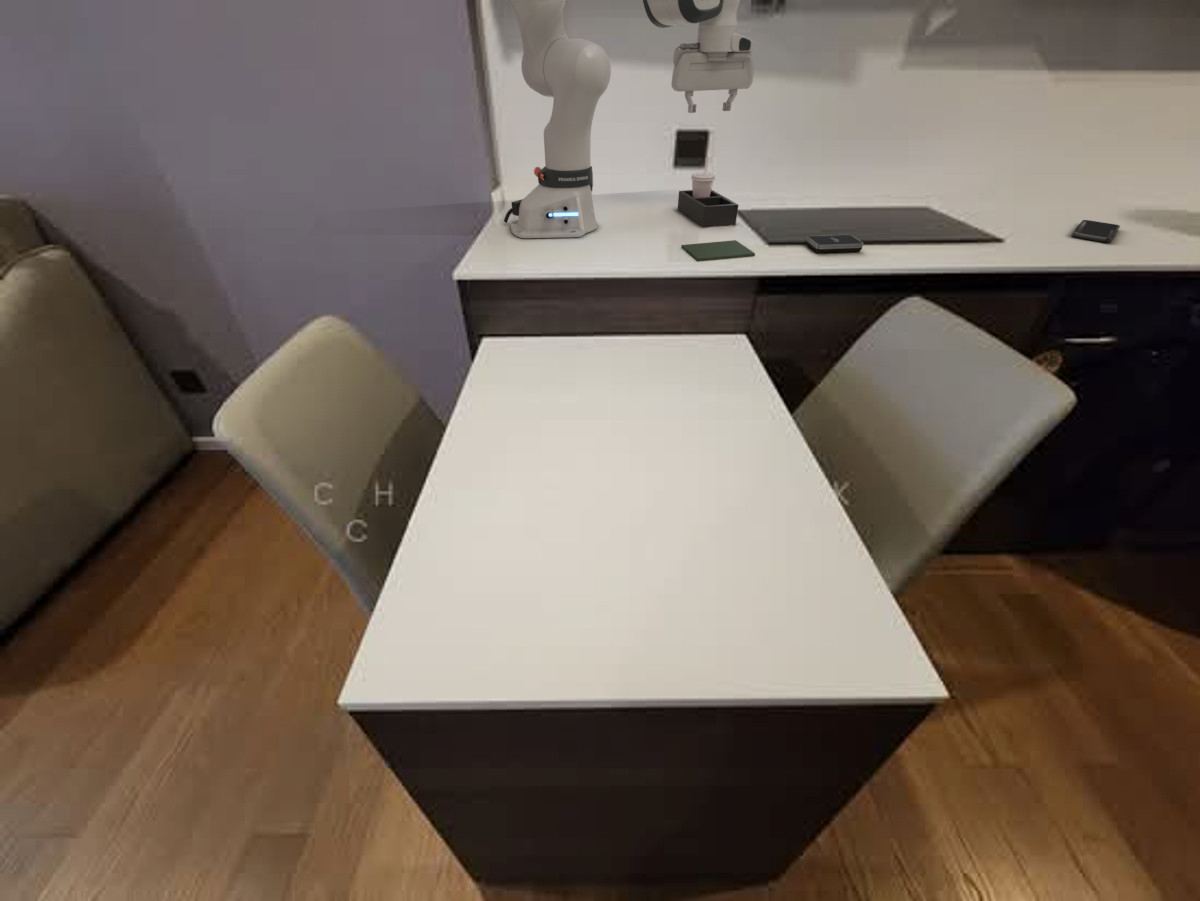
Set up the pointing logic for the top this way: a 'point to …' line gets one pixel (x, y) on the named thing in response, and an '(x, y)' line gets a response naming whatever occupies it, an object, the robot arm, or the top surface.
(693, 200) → the holder
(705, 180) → the smoothie
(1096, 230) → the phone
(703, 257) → the mat
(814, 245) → the external hard drive
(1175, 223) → the top surface
